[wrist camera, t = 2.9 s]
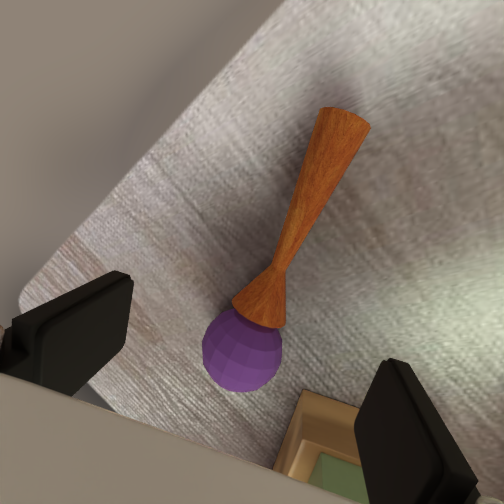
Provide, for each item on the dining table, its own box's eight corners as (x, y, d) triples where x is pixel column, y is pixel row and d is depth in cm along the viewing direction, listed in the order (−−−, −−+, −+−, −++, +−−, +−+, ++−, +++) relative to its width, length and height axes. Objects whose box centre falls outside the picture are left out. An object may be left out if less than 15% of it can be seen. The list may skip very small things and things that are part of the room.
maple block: (302, 388, 25) (302, 438, 20) (444, 437, 23) (480, 504, 19) (261, 497, 29) (252, 561, 24) (380, 544, 27) (395, 621, 23)
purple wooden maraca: (414, 131, 15) (266, 423, 19) (367, 144, 21) (261, 366, 25) (311, 83, 14) (183, 396, 19) (292, 110, 20) (197, 345, 24)
